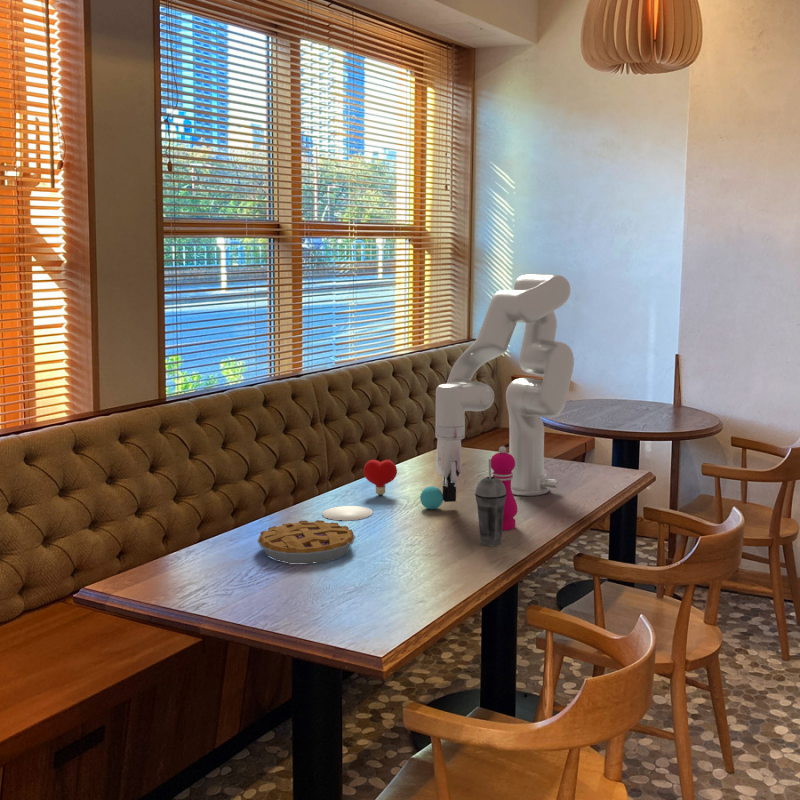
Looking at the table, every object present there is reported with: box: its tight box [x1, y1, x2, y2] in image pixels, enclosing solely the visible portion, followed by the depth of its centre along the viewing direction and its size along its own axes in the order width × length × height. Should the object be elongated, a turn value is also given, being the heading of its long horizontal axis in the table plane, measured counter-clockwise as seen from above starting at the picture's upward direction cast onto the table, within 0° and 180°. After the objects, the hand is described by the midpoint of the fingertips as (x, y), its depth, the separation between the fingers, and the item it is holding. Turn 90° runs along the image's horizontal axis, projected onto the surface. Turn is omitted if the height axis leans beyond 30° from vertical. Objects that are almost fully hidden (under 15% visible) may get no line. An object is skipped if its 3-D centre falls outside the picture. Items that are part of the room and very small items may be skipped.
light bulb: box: [362, 459, 398, 497], centre depth 256 cm, size 9×7×10 cm
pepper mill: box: [490, 446, 519, 531], centre depth 225 cm, size 7×7×20 cm
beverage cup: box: [474, 458, 507, 547], centre depth 212 cm, size 7×7×20 cm
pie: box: [257, 519, 356, 564], centre depth 210 cm, size 22×22×5 cm
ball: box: [419, 485, 444, 510], centre depth 242 cm, size 6×6×6 cm
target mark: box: [321, 505, 374, 522], centre depth 240 cm, size 13×13×1 cm
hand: (449, 500), depth 243 cm, fingers closed
